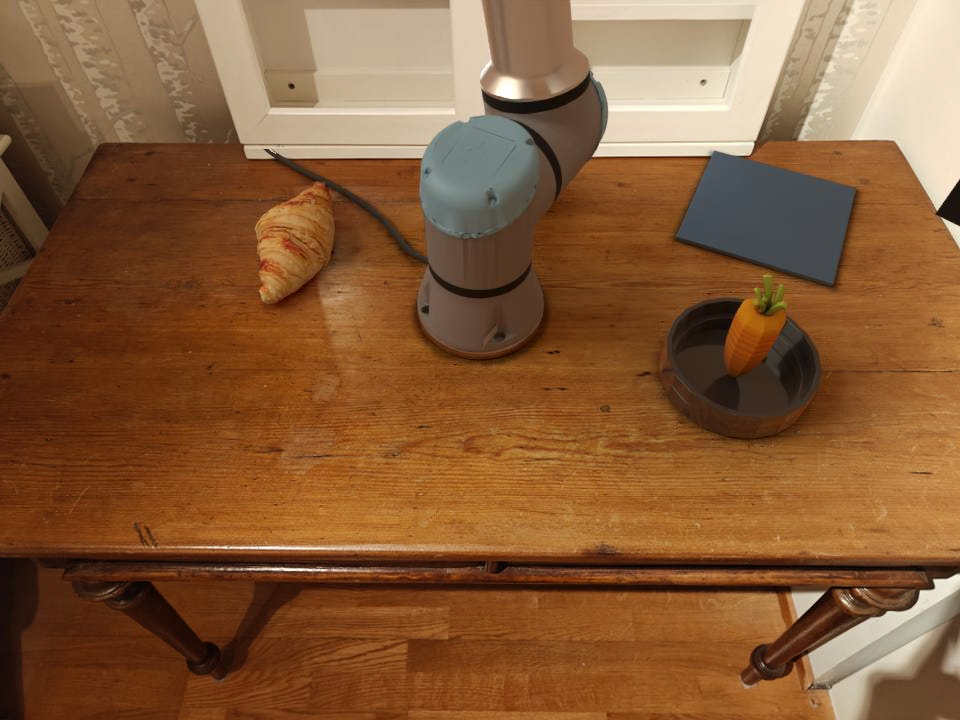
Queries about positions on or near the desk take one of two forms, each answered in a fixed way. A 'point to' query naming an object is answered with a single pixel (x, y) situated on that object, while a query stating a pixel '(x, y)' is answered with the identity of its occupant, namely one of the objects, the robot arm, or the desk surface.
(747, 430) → the pan
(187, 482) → the desk surface
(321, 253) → the croissant
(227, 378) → the desk surface
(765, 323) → the carrot
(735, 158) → the mat
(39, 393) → the desk surface
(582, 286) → the desk surface
